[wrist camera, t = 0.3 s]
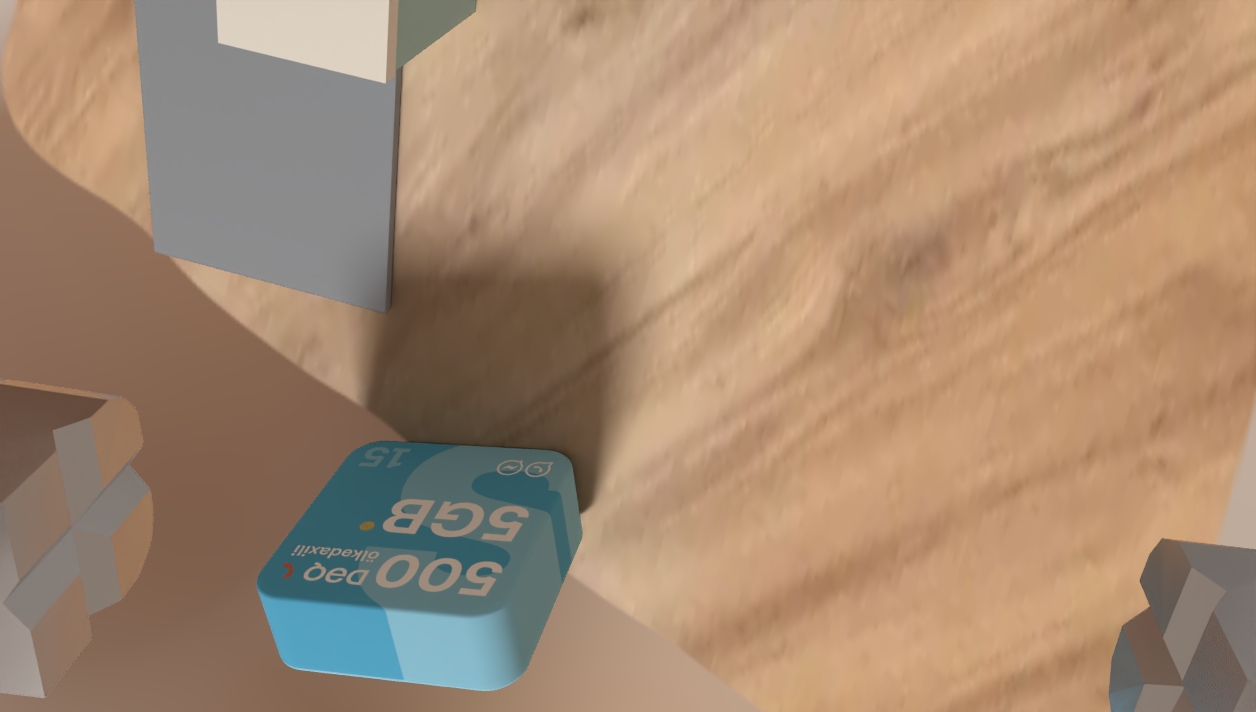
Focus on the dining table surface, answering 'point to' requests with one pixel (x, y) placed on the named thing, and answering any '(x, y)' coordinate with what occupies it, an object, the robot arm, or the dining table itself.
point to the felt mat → (267, 160)
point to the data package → (426, 564)
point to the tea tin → (340, 31)
